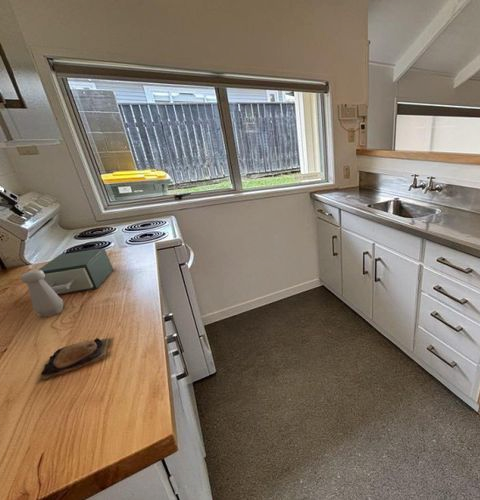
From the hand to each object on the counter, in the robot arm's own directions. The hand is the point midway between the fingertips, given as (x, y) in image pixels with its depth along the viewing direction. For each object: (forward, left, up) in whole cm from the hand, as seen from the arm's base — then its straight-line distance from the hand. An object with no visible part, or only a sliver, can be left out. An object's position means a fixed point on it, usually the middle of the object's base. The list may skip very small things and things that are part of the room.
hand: (6, 219), depth 83 cm
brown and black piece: (+25, -43, -25) cm, 56 cm away
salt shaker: (+9, -17, -25) cm, 31 cm away
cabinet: (+9, +2, -24) cm, 26 cm away
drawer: (+9, -3, -23) cm, 25 cm away
